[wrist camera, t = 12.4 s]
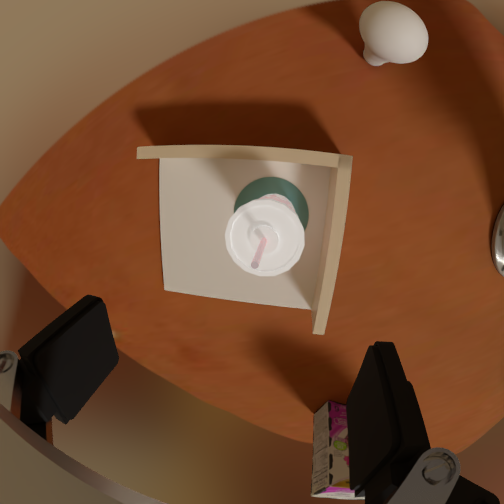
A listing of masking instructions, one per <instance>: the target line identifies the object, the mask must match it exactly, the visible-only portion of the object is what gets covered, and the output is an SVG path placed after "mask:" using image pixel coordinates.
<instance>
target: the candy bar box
mask: <svg viewBox="0 0 504 504" xmlns="http://www.w3.org/2000/svg"><path fill="white" fill-rule="evenodd" d="M311 496H315V497H323V498H335V499H351V500H365V497H355V490H350V486H349V447H348V428H347V414H346V405H343V404H340V403H336V402H332V401H329V400H328V401H327V402H326V403H325V404H324V405H323V406H322V407H321V408H320V409H319V410H318V411H317V412H316V413H315V414H314V433H313V465H312V484H311Z"/></svg>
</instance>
